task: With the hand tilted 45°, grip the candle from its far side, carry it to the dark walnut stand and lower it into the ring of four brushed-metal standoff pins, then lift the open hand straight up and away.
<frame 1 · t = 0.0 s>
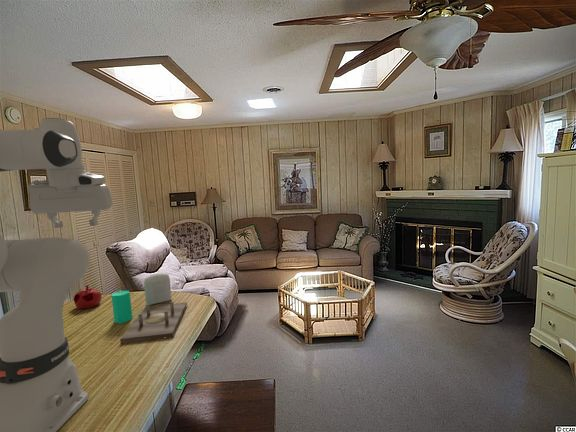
hand: (76, 226, 87), 39 cm above the table, tool pointing down, fingers open, 8 cm apart
candle: (123, 320, 113), on the table
photo printer: (159, 302, 129), on the table
candle stand: (158, 322, 109), on the table
pomegranate: (88, 306, 129), on the table
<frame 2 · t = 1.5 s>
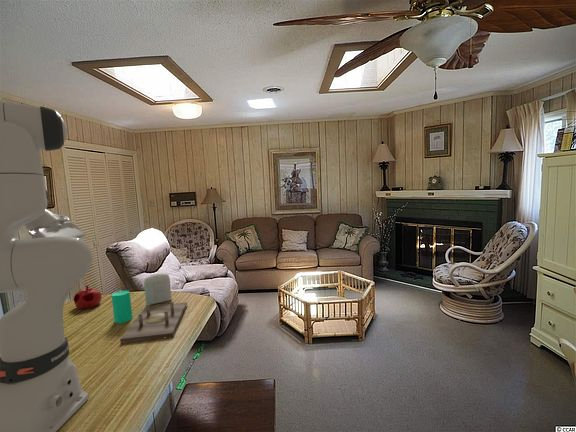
hand: (79, 250, 108), 28 cm above the table, tool tilted 45°, fingers open, 8 cm apart
nothing on the table moved.
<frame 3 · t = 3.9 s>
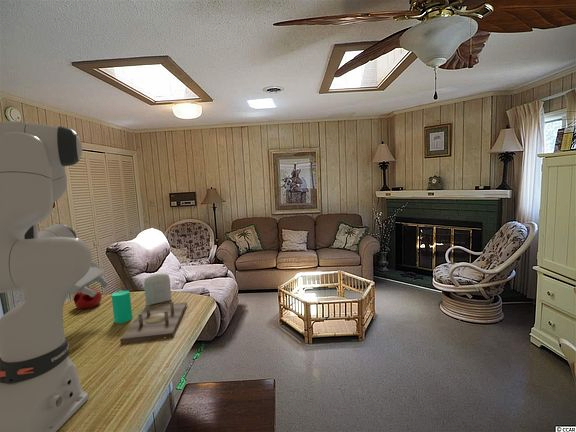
hand: (101, 290, 111), 12 cm above the table, tool tilted 45°, fingers open, 8 cm apart
nothing on the table moved.
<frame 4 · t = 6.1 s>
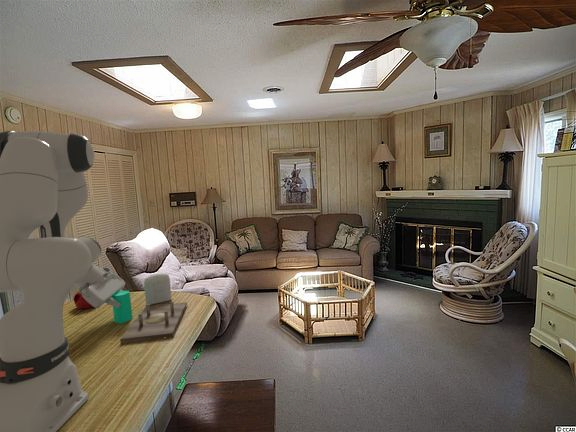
hand: (123, 302, 112), 7 cm above the table, tool tilted 45°, fingers closed on candle, 5 cm apart
candle: (123, 320, 113), on the table, touching gripper
everything else where it was.
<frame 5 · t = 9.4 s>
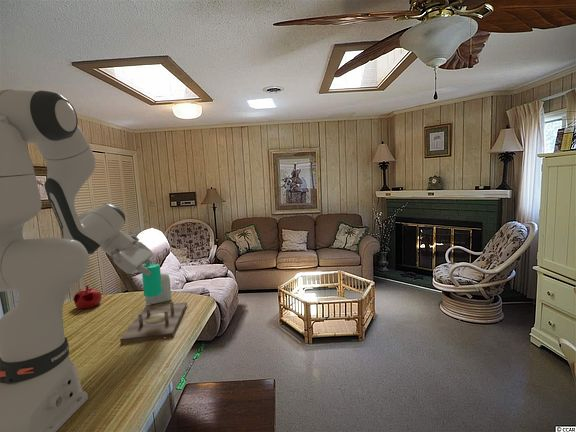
hand: (153, 271, 107), 19 cm above the table, tool tilted 45°, fingers closed on candle, 5 cm apart
candle: (153, 294, 108), point 11 cm above the table, touching gripper
everything else where it was.
when the fingers open (10 cm above the table, at t = 11.6 s): candle stays where it is, resting on candle stand.
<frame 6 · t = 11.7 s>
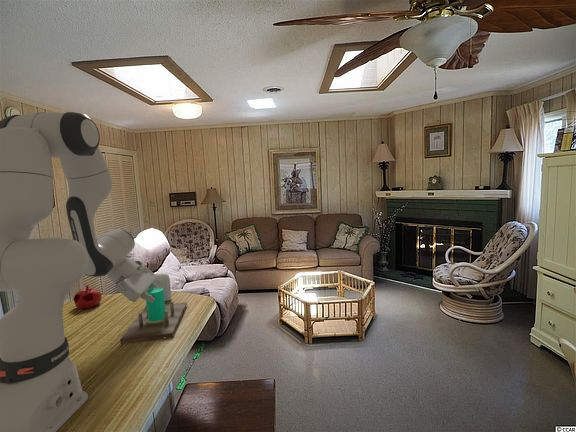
hand: (157, 296, 108), 10 cm above the table, tool tilted 45°, fingers open, 6 cm apart
candle: (157, 318, 109), point 2 cm above the table, touching candle stand
everything else where it was.
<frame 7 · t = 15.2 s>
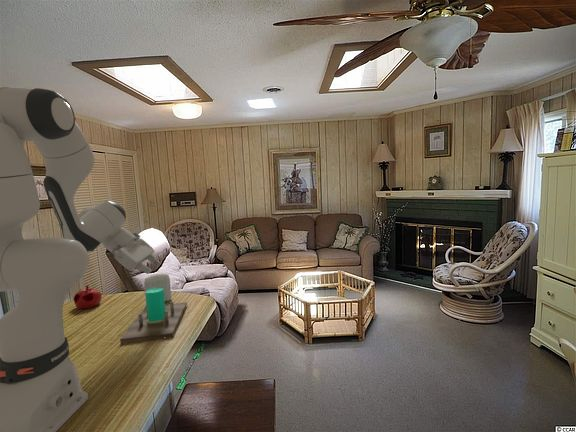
hand: (154, 268, 107), 20 cm above the table, tool tilted 45°, fingers open, 8 cm apart
nothing on the table moved.
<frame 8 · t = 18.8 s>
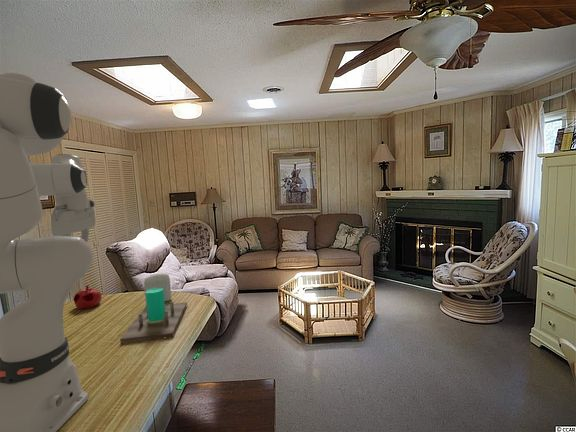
hand: (77, 244, 101), 31 cm above the table, tool pointing down, fingers open, 8 cm apart
nothing on the table moved.
at the end: candle 0.2 cm off-centre on the candle stand, point 1.5 cm above the candle stand's base; candle tilted 0°; the gripper is holding nothing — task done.
